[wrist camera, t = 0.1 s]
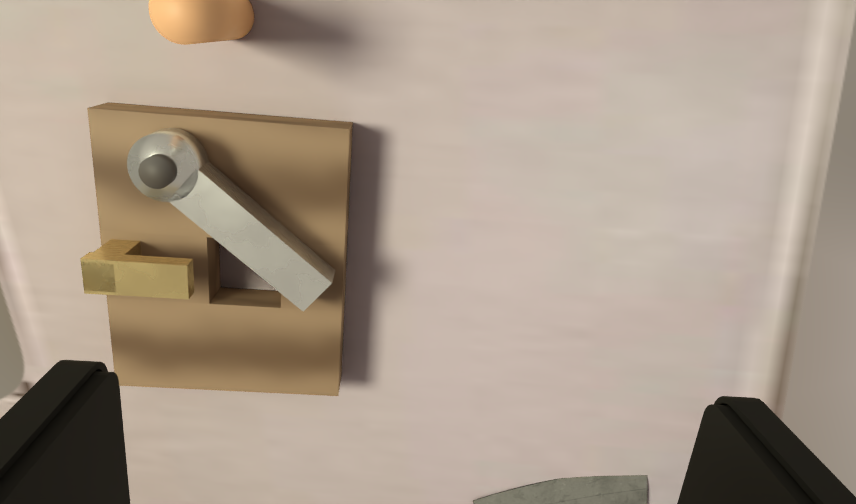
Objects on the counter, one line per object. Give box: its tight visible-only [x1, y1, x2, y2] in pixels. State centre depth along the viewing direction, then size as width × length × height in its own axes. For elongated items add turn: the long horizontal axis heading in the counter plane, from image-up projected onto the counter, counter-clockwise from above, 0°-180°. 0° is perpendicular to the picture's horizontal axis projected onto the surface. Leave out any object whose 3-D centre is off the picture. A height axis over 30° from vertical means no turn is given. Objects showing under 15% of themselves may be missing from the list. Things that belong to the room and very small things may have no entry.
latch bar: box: [127, 128, 335, 311], centre depth 42 cm, size 15×4×2 cm, turn 45°
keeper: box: [81, 239, 194, 299], centre depth 42 cm, size 2×7×4 cm, turn 85°
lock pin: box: [149, 0, 254, 44], centre depth 36 cm, size 3×3×10 cm
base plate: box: [88, 103, 353, 396], centre depth 44 cm, size 21×17×7 cm
